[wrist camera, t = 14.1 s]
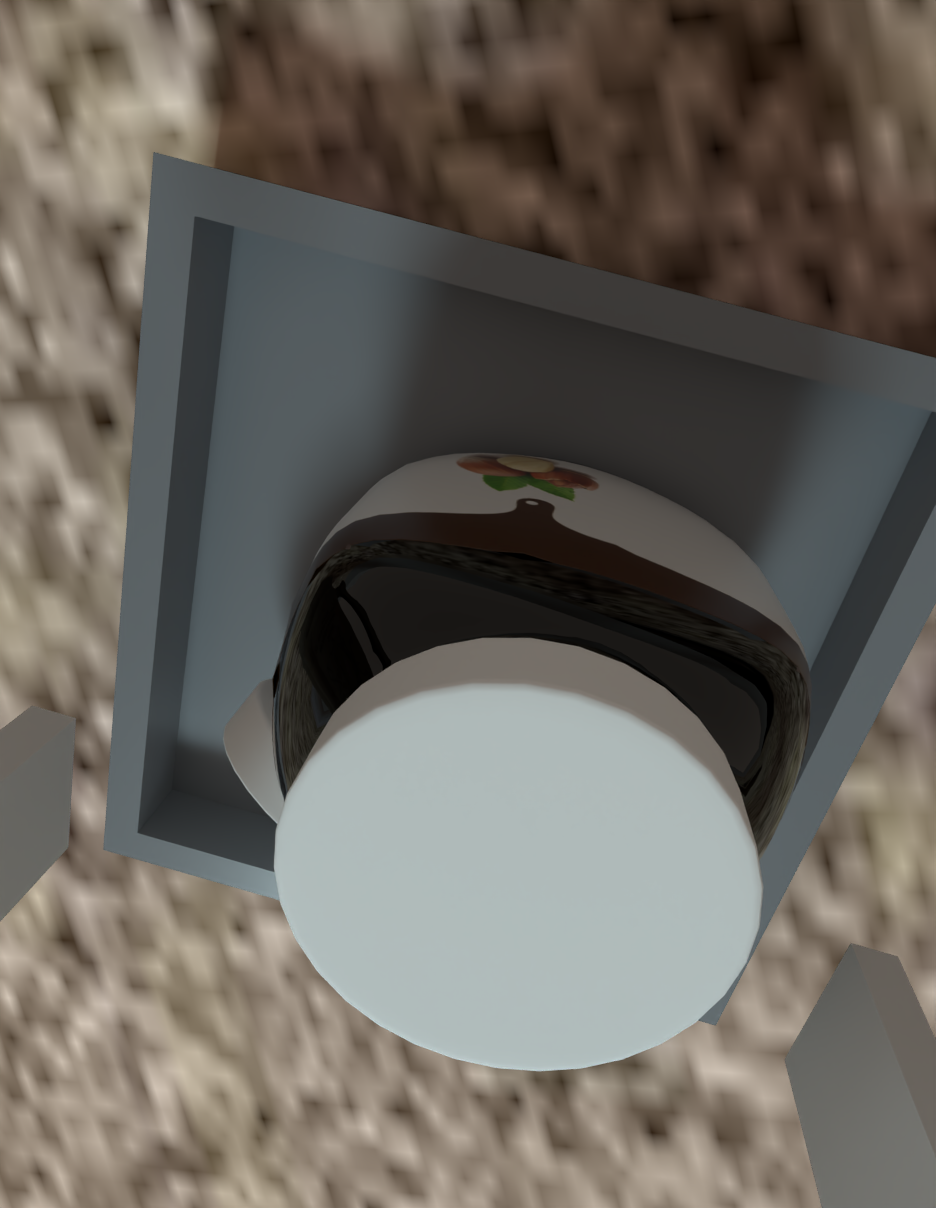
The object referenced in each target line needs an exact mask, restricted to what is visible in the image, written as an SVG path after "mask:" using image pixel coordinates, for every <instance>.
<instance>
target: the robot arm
mask: <svg viewBox="0 0 936 1208" xmlns="http://www.w3.org/2000/svg"><path fill="white" fill-rule="evenodd" d="M75 724H76V718H73V717H70V716H66V715H63V714H60V713H56V712H53V711H49V710H46V709H42V708H39V707H35V706H31V707H30V708H28V709H27V710H26V711H25V712H23V713H22V714H21V715H19V716H18V717H17V718H15V719H14V720H13V721H11V722H10V723H9V724H8V725H6V726H5V727H4V728H2V729H1V730H0V921H1V920H2V919H3V918H4V917H5V916H6V915H7V914H8V912H9V911H10V910H11V909H12V908H13V907H14V906H15V905H16V904H17V903H18V902H19V900H20V899H21V898H22V897H23V896H24V895H25V894H26V893H27V892H28V891H29V890H30V888H31V887H32V886H33V885H34V884H35V883H36V882H37V881H38V880H39V879H40V878H41V876H42V875H43V874H44V873H45V872H46V871H47V870H48V869H49V868H50V867H51V866H52V864H53V863H54V862H55V861H56V860H57V859H58V858H59V857H60V856H61V855H62V854H63V852H64V851H65V850H66V849H67V848H68V843H69V826H70V809H71V792H72V775H73V758H74V741H75ZM785 1063H786V1067H787V1071H788V1075H789V1079H790V1083H791V1087H792V1091H793V1095H794V1099H795V1103H796V1106H797V1110H798V1114H799V1118H800V1122H801V1126H802V1130H803V1134H804V1138H805V1142H806V1146H807V1150H808V1154H809V1158H810V1162H811V1166H812V1170H813V1174H814V1178H815V1182H816V1186H817V1190H818V1194H819V1198H820V1202H821V1206H822V1208H936V1039H935V1037H934V1035H933V1032H932V1030H931V1028H930V1026H929V1024H928V1021H927V1019H926V1017H925V1015H924V1013H923V1010H922V1008H921V1006H920V1004H919V1002H918V1000H917V997H916V995H915V993H914V991H913V989H912V986H911V984H910V982H909V980H908V978H907V975H906V973H905V971H904V969H903V967H902V964H901V962H900V960H899V958H898V957H897V956H894V955H890V954H887V953H884V952H880V951H877V950H873V949H870V948H866V947H863V946H859V945H856V944H852V943H851V944H850V946H849V947H848V949H847V951H846V953H845V954H844V956H843V958H842V960H841V961H840V963H839V965H838V967H837V969H836V970H835V972H834V974H833V976H832V977H831V979H830V981H829V983H828V984H827V986H826V988H825V990H824V991H823V993H822V995H821V997H820V998H819V1000H818V1002H817V1004H816V1005H815V1007H814V1009H813V1011H812V1012H811V1014H810V1016H809V1018H808V1019H807V1021H806V1023H805V1025H804V1026H803V1028H802V1030H801V1032H800V1033H799V1035H798V1037H797V1039H796V1040H795V1042H794V1044H793V1046H792V1047H791V1049H790V1051H789V1053H788V1054H787V1056H786V1058H785Z"/></svg>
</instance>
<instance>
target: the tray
mask: <svg viewBox="0 0 936 1208" xmlns="http://www.w3.org/2000/svg"><path fill="white" fill-rule="evenodd" d="M460 453H496V454H519V455H532V456H542V457H550V458H556V459H562V460H567V461H572V462H576V463H580V464H584V465H588V466H591V467H594V468H598V469H601V470H604V471H607V472H609V473H612V474H615V475H617V476H620V477H623V478H625V479H627V480H630V481H632V482H634V483H636V484H639V485H641V486H643V487H645V488H647V489H649V490H651V491H653V492H655V493H657V494H659V495H661V496H663V497H665V498H667V499H669V500H671V501H673V502H675V503H677V504H679V505H681V506H683V507H684V508H686V509H688V510H690V511H691V512H693V513H695V514H696V515H698V516H699V517H701V518H703V519H704V520H706V521H707V522H709V523H710V524H711V525H712V526H714V527H715V528H716V529H718V530H719V531H720V532H722V533H723V534H724V535H726V536H727V537H729V538H730V539H731V540H733V541H734V542H735V543H736V544H737V545H738V546H739V547H740V548H741V549H742V550H743V551H744V552H745V553H746V554H747V555H748V556H749V557H750V559H751V560H752V561H753V562H754V563H755V564H756V565H757V566H758V567H759V569H760V570H761V572H762V573H763V575H764V576H765V578H766V579H767V581H768V583H769V585H770V586H771V588H772V590H773V592H774V593H775V595H776V597H777V598H778V600H779V602H780V604H781V605H782V607H783V609H784V610H785V612H786V614H787V616H788V618H789V619H790V621H791V623H792V625H793V627H794V629H795V631H796V633H797V635H798V637H799V639H800V641H801V643H802V645H803V647H804V651H805V655H806V659H807V663H808V667H809V673H810V678H811V684H812V691H811V711H810V725H809V731H808V738H807V744H806V749H805V753H804V758H803V762H802V766H801V769H800V773H799V776H798V779H797V783H796V786H795V788H794V791H793V794H792V796H791V799H790V802H789V804H788V806H787V808H786V811H785V813H784V815H783V817H782V820H781V822H780V823H779V825H778V827H777V829H776V831H775V833H774V835H773V837H772V839H771V841H770V843H769V845H768V847H767V849H766V850H765V852H764V854H763V856H762V857H761V859H760V860H759V863H760V870H761V876H762V882H763V898H762V908H761V918H760V927H759V930H758V933H757V935H756V938H755V941H754V944H753V946H752V949H751V952H750V955H749V957H748V960H747V963H746V964H745V966H744V967H743V969H742V970H741V972H740V973H739V975H738V976H737V978H736V979H735V981H734V982H733V984H732V985H731V987H730V988H729V989H728V991H727V992H726V994H725V995H724V996H723V997H722V998H721V999H720V1000H719V1001H718V1002H717V1003H716V1004H715V1005H714V1006H713V1007H712V1008H710V1009H709V1010H708V1011H707V1012H706V1013H705V1014H704V1015H703V1016H702V1017H701V1018H700V1019H699V1020H698V1021H702V1022H705V1023H709V1024H712V1025H716V1024H717V1022H718V1020H719V1018H720V1016H721V1014H722V1012H723V1010H724V1008H725V1006H726V1005H727V1003H728V1001H729V999H730V997H731V995H732V993H733V991H734V989H735V987H736V985H737V983H738V981H739V980H740V978H741V976H742V974H743V972H744V970H745V968H746V966H747V964H748V962H749V960H750V958H751V957H752V955H753V953H754V951H755V949H756V947H757V945H758V943H759V941H760V939H761V937H762V935H763V933H764V932H765V930H766V928H767V926H768V924H769V922H770V920H771V918H772V916H773V914H774V912H775V910H776V909H777V907H778V905H779V903H780V901H781V899H782V897H783V895H784V893H785V891H786V889H787V887H788V886H789V884H790V882H791V880H792V878H793V876H794V874H795V872H796V870H797V868H798V866H799V864H800V862H801V861H802V859H803V857H804V855H805V853H806V851H807V849H808V847H809V845H810V843H811V841H812V839H813V838H814V836H815V834H816V832H817V830H818V828H819V826H820V824H821V822H822V820H823V818H824V816H825V815H826V813H827V811H828V809H829V807H830V805H831V803H832V801H833V799H834V797H835V795H836V793H837V791H838V790H839V788H840V786H841V784H842V782H843V780H844V778H845V776H846V774H847V772H848V770H849V768H850V767H851V765H852V763H853V761H854V759H855V757H856V755H857V753H858V751H859V749H860V747H861V745H862V743H863V742H864V740H865V738H866V736H867V734H868V732H869V730H870V728H871V726H872V724H873V722H874V720H875V719H876V717H877V715H878V713H879V711H880V709H881V707H882V705H883V703H884V701H885V699H886V697H887V696H888V694H889V692H890V690H891V688H892V686H893V684H894V682H895V680H896V678H897V676H898V674H899V672H900V671H901V669H902V667H903V665H904V663H905V661H906V659H907V657H908V655H909V653H910V651H911V649H912V648H913V646H914V644H915V642H916V640H917V638H918V636H919V634H920V632H921V630H922V628H923V626H924V624H925V623H926V621H927V619H928V617H929V615H930V613H931V611H932V609H933V607H934V605H935V603H936V358H934V357H930V356H926V355H922V354H919V353H915V352H911V351H907V350H903V349H900V348H896V347H892V346H888V345H884V344H881V343H877V342H873V341H869V340H865V339H862V338H858V337H854V336H850V335H846V334H843V333H839V332H835V331H831V330H827V329H824V328H820V327H816V326H812V325H808V324H805V323H801V322H797V321H793V320H789V319H786V318H782V317H778V316H774V315H770V314H767V313H763V312H759V311H755V310H751V309H748V308H744V307H740V306H736V305H732V304H729V303H725V302H721V301H717V300H713V299H710V298H706V297H702V296H698V295H694V294H691V293H687V292H683V291H679V290H675V289H672V288H668V287H664V286H660V285H656V284H653V283H649V282H645V281H641V280H637V279H634V278H630V277H626V276H622V275H618V274H615V273H611V272H607V271H603V270H599V269H596V268H592V267H588V266H584V265H580V264H577V263H573V262H569V261H565V260H562V259H558V258H554V257H550V256H546V255H543V254H539V253H535V252H531V251H527V250H524V249H520V248H516V247H512V246H508V245H505V244H501V243H497V242H493V241H489V240H486V239H482V238H478V237H474V236H470V235H467V234H463V233H459V232H455V231H451V230H448V229H444V228H440V227H436V226H432V225H429V224H425V223H421V222H417V221H413V220H410V219H406V218H402V217H398V216H394V215H391V214H387V213H383V212H379V211H375V210H372V209H368V208H364V207H360V206H356V205H353V204H349V203H345V202H341V201H337V200H334V199H330V198H326V197H322V196H318V195H315V194H311V193H307V192H303V191H299V190H296V189H292V188H288V187H284V186H280V185H277V184H273V183H269V182H265V181H261V180H258V179H254V178H250V177H246V176H242V175H239V174H235V173H231V172H227V171H224V170H220V169H216V168H212V167H208V166H204V165H201V164H197V163H193V162H189V161H185V160H182V159H178V158H174V157H170V156H166V155H162V154H159V153H155V152H154V154H153V168H152V182H151V196H150V210H149V223H148V237H147V251H146V265H145V279H144V293H143V307H142V321H141V335H140V349H139V362H138V376H137V390H136V404H135V418H134V432H133V446H132V460H131V474H130V488H129V502H128V515H127V529H126V543H125V557H124V571H123V585H122V599H121V613H120V627H119V641H118V654H117V668H116V682H115V696H114V710H113V724H112V738H111V752H110V766H109V780H108V793H107V807H106V821H105V835H104V849H103V850H106V851H110V852H113V853H117V854H120V855H124V856H127V857H131V858H134V859H138V860H141V861H145V862H148V863H152V864H155V865H159V866H162V867H166V868H169V869H173V870H176V871H180V872H183V873H186V874H190V875H193V876H197V877H200V878H204V879H207V880H211V881H214V882H218V883H221V884H225V885H228V886H232V887H235V888H239V889H242V890H246V891H249V892H253V893H256V894H260V895H263V896H267V897H270V898H274V899H277V900H280V898H279V893H278V888H277V882H276V877H275V871H274V852H275V833H276V827H277V823H276V822H275V821H274V820H273V819H272V818H271V817H270V816H269V815H268V814H267V813H266V812H265V811H264V810H263V809H262V807H261V806H260V805H259V804H258V803H257V801H256V800H255V799H254V798H253V797H252V795H251V794H250V793H249V792H248V791H247V789H246V788H245V786H244V785H243V783H242V781H241V780H240V778H239V777H238V775H237V774H236V772H235V771H234V769H233V767H232V764H231V762H230V760H229V758H228V756H227V754H226V749H225V745H224V740H223V736H224V729H225V726H226V724H227V723H228V722H229V720H230V719H231V718H232V717H233V715H234V714H235V713H236V712H237V710H238V709H239V708H240V707H241V705H242V704H243V703H244V702H245V700H246V699H247V698H248V697H249V695H250V694H251V693H252V692H253V690H254V689H255V688H256V687H257V685H258V684H259V683H260V682H261V681H264V680H267V679H270V678H273V675H274V671H275V668H276V664H277V661H278V658H279V654H280V651H281V647H282V644H283V640H284V636H285V632H286V628H287V624H288V620H289V615H290V611H291V606H292V603H293V601H294V599H295V597H296V595H297V593H298V592H299V590H300V588H301V586H302V583H303V581H304V579H305V577H306V575H307V573H308V570H309V568H310V566H311V564H312V562H313V560H314V558H315V556H316V554H317V552H318V550H319V549H320V547H321V546H322V544H323V542H324V541H325V539H326V538H327V536H328V535H329V533H330V532H331V531H332V530H333V528H334V527H335V526H336V524H337V523H338V522H339V521H340V520H341V519H342V518H343V517H344V516H345V515H346V514H347V513H348V512H349V510H350V509H351V508H352V507H353V506H354V505H355V504H356V503H357V502H358V501H359V500H360V499H361V498H362V497H363V496H364V495H365V494H366V493H367V492H368V491H369V490H370V489H371V488H372V487H373V486H374V485H375V484H376V483H377V482H379V481H380V480H381V479H382V478H384V477H386V476H387V475H389V474H391V473H392V472H394V471H396V470H398V469H399V468H401V467H403V466H404V465H406V464H409V463H413V462H416V461H420V460H424V459H427V458H432V457H436V456H443V455H450V454H460Z"/></svg>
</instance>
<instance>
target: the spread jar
mask: <svg viewBox="0 0 936 1208" xmlns="http://www.w3.org/2000/svg"><path fill="white" fill-rule="evenodd" d="M811 691H812V684H811V678H810V673H809V667H808V663H807V659H806V655H805V651H804V647H803V645H802V643H801V641H800V639H799V637H798V635H797V633H796V631H795V629H794V627H793V625H792V623H791V621H790V619H789V618H788V616H787V614H786V612H785V610H784V609H783V607H782V605H781V604H780V602H779V600H778V598H777V597H776V595H775V593H774V592H773V590H772V588H771V586H770V585H769V583H768V581H767V579H766V578H765V576H764V575H763V573H762V572H761V570H760V569H759V567H758V566H757V565H756V564H755V563H754V562H753V561H752V560H751V559H750V557H749V556H748V555H747V554H746V553H745V552H744V551H743V550H742V549H741V548H740V547H739V546H738V545H737V544H736V543H735V542H734V541H733V540H731V539H730V538H729V537H727V536H726V535H724V534H723V533H722V532H720V531H719V530H718V529H716V528H715V527H714V526H712V525H711V524H710V523H709V522H707V521H706V520H704V519H703V518H701V517H699V516H698V515H696V514H695V513H693V512H691V511H690V510H688V509H686V508H684V507H683V506H681V505H679V504H677V503H675V502H673V501H671V500H669V499H667V498H665V497H663V496H661V495H659V494H657V493H655V492H653V491H651V490H649V489H647V488H645V487H643V486H641V485H639V484H636V483H634V482H632V481H630V480H627V479H625V478H623V477H620V476H617V475H615V474H612V473H609V472H607V471H604V470H601V469H598V468H594V467H591V466H588V465H584V464H580V463H576V462H572V461H567V460H562V459H556V458H550V457H542V456H532V455H519V454H496V453H460V454H450V455H443V456H436V457H432V458H427V459H424V460H420V461H416V462H413V463H409V464H406V465H404V466H403V467H401V468H399V469H398V470H396V471H394V472H392V473H391V474H389V475H387V476H386V477H384V478H382V479H381V480H380V481H379V482H377V483H376V484H375V485H374V486H373V487H372V488H371V489H370V490H369V491H368V492H367V493H366V494H365V495H364V496H363V497H362V498H361V499H360V500H359V501H358V502H357V503H356V504H355V505H354V506H353V507H352V508H351V509H350V510H349V512H348V513H347V514H346V515H345V516H344V517H343V518H342V519H341V520H340V521H339V522H338V523H337V524H336V526H335V527H334V528H333V530H332V531H331V532H330V533H329V535H328V536H327V538H326V539H325V541H324V542H323V544H322V546H321V547H320V549H319V550H318V552H317V554H316V556H315V558H314V560H313V562H312V564H311V566H310V568H309V570H308V573H307V575H306V577H305V579H304V581H303V583H302V586H301V588H300V590H299V592H298V593H297V595H296V597H295V599H294V601H293V603H292V606H291V611H290V615H289V620H288V624H287V628H286V632H285V636H284V640H283V644H282V647H281V651H280V654H279V658H278V661H277V664H276V668H275V671H274V675H273V678H270V679H267V680H264V681H261V682H260V683H259V684H258V685H257V687H256V688H255V689H254V690H253V692H252V693H251V694H250V695H249V697H248V698H247V699H246V700H245V702H244V703H243V704H242V705H241V707H240V708H239V709H238V710H237V712H236V713H235V714H234V715H233V717H232V718H231V719H230V720H229V722H228V723H227V724H226V726H225V729H224V736H223V740H224V745H225V749H226V754H227V756H228V758H229V760H230V762H231V764H232V767H233V769H234V771H235V772H236V774H237V775H238V777H239V778H240V780H241V781H242V783H243V785H244V786H245V788H246V789H247V791H248V792H249V793H250V794H251V795H252V797H253V798H254V799H255V800H256V801H257V803H258V804H259V805H260V806H261V807H262V809H263V810H264V811H265V812H266V813H267V814H268V815H269V816H270V817H271V818H272V819H273V820H274V821H275V822H276V823H277V827H276V833H275V852H274V871H275V877H276V882H277V888H278V893H279V898H280V904H281V906H282V908H283V911H284V913H285V916H286V918H287V920H288V923H289V925H290V927H291V930H292V932H293V935H294V937H295V939H296V940H297V942H298V943H299V945H300V946H301V948H302V949H303V951H304V952H305V954H306V955H307V957H308V958H309V960H310V961H311V963H312V964H313V966H314V967H315V969H316V970H317V971H318V973H319V974H320V975H321V976H322V977H323V978H324V979H325V980H326V981H327V982H328V983H329V984H330V985H331V986H332V987H333V988H334V989H335V990H336V991H337V992H338V993H339V994H340V995H341V996H342V997H343V998H344V999H345V1000H346V1001H347V1002H348V1003H350V1004H351V1005H352V1006H354V1007H355V1008H356V1009H358V1010H359V1011H360V1012H362V1013H363V1014H364V1015H366V1016H367V1017H368V1018H370V1019H371V1020H372V1021H374V1022H375V1023H376V1024H378V1025H380V1026H381V1027H383V1028H385V1029H387V1030H389V1031H391V1032H393V1033H395V1034H396V1035H398V1036H400V1037H402V1038H404V1039H406V1040H408V1041H410V1042H411V1043H413V1044H415V1045H418V1046H421V1047H424V1048H426V1049H429V1050H432V1051H434V1052H437V1053H440V1054H443V1055H445V1056H448V1057H451V1058H454V1059H457V1060H462V1061H467V1062H471V1063H476V1064H481V1065H485V1066H490V1067H495V1068H505V1069H518V1070H531V1071H548V1070H564V1069H579V1068H585V1067H590V1066H594V1065H599V1064H604V1063H608V1062H613V1061H617V1060H622V1059H625V1058H627V1057H630V1056H632V1055H635V1054H637V1053H640V1052H642V1051H645V1050H647V1049H650V1048H652V1047H655V1046H657V1045H660V1044H662V1043H663V1042H665V1041H667V1040H668V1039H670V1038H671V1037H673V1036H675V1035H676V1034H678V1033H680V1032H681V1031H683V1030H684V1029H686V1028H688V1027H689V1026H691V1025H692V1024H694V1023H695V1022H697V1021H698V1020H699V1019H700V1018H701V1017H702V1016H703V1015H704V1014H705V1013H706V1012H707V1011H708V1010H709V1009H710V1008H712V1007H713V1006H714V1005H715V1004H716V1003H717V1002H718V1001H719V1000H720V999H721V998H722V997H723V996H724V995H725V994H726V992H727V991H728V989H729V988H730V987H731V985H732V984H733V982H734V981H735V979H736V978H737V976H738V975H739V973H740V972H741V970H742V969H743V967H744V966H745V964H746V963H747V960H748V957H749V955H750V952H751V949H752V946H753V944H754V941H755V938H756V935H757V933H758V930H759V927H760V918H761V908H762V898H763V882H762V876H761V870H760V863H759V860H760V859H761V857H762V856H763V854H764V852H765V850H766V849H767V847H768V845H769V843H770V841H771V839H772V837H773V835H774V833H775V831H776V829H777V827H778V825H779V823H780V822H781V820H782V817H783V815H784V813H785V811H786V808H787V806H788V804H789V802H790V799H791V796H792V794H793V791H794V788H795V786H796V783H797V779H798V776H799V773H800V769H801V766H802V762H803V758H804V753H805V749H806V744H807V738H808V731H809V725H810V711H811Z"/></svg>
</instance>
